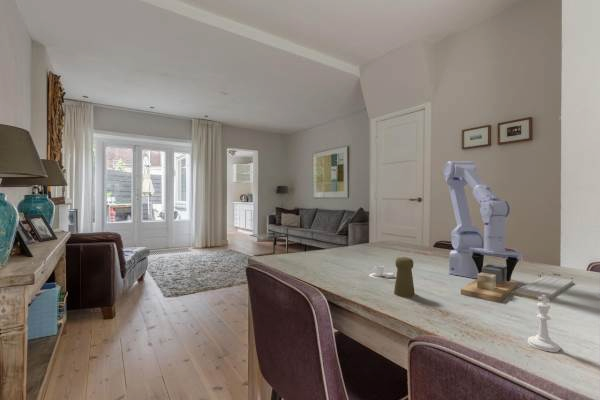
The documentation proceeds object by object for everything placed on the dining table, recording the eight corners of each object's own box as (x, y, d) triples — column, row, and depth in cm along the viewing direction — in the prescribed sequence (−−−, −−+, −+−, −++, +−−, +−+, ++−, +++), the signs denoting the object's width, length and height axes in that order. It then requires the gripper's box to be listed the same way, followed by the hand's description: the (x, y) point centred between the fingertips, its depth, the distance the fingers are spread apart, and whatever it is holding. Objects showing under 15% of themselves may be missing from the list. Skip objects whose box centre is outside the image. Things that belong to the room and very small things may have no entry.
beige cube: (477, 287, 90) (477, 274, 90) (481, 285, 93) (481, 272, 93) (492, 290, 88) (492, 277, 88) (495, 287, 90) (495, 274, 90)
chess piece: (550, 354, 55) (551, 300, 55) (522, 342, 59) (522, 292, 59) (565, 348, 57) (565, 297, 57) (536, 337, 61) (536, 289, 61)
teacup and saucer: (397, 278, 109) (397, 267, 109) (383, 281, 104) (383, 270, 104) (378, 273, 116) (378, 262, 116) (364, 276, 111) (364, 265, 111)
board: (460, 294, 89) (460, 289, 89) (482, 280, 104) (482, 275, 104) (499, 302, 82) (499, 297, 82) (516, 286, 97) (516, 281, 97)
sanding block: (481, 283, 95) (481, 267, 95) (489, 277, 102) (489, 263, 102) (499, 286, 92) (499, 270, 92) (506, 280, 98) (506, 265, 98)
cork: (389, 292, 91) (389, 256, 91) (404, 289, 94) (404, 255, 94) (403, 298, 86) (403, 260, 86) (419, 295, 88) (419, 258, 88)
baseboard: (504, 294, 91) (545, 303, 83) (504, 285, 91) (545, 293, 83) (536, 278, 109) (573, 284, 101) (536, 270, 109) (573, 276, 101)
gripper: (466, 235, 99) (466, 276, 99) (519, 240, 89) (519, 285, 89) (472, 234, 104) (472, 272, 104) (523, 238, 93) (523, 281, 93)
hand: (494, 278), depth 97 cm, fingers open, 7 cm apart
